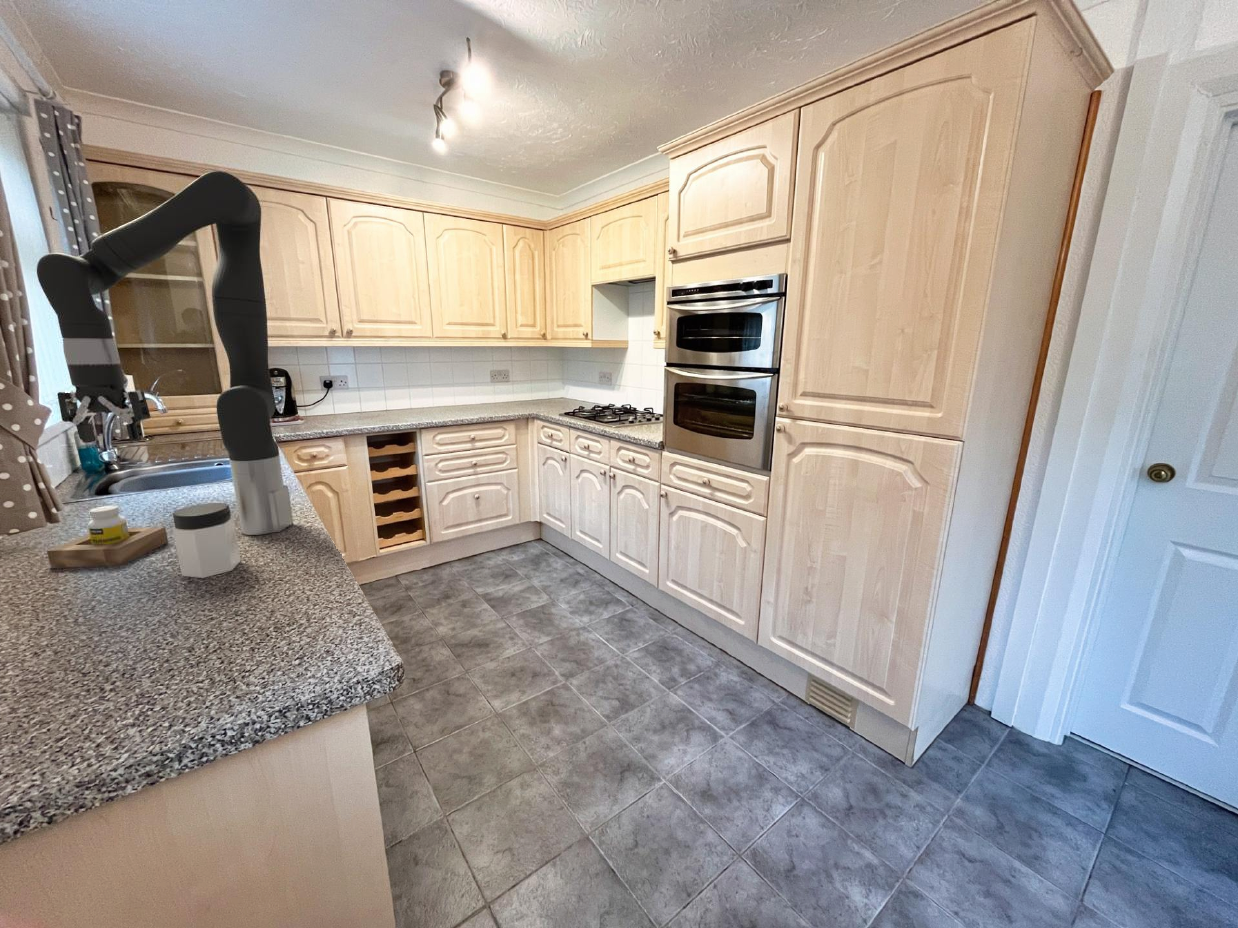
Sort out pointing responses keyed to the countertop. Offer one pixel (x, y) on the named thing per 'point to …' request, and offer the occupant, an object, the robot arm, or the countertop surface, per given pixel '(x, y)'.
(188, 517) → the jar
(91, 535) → the supplement bottle
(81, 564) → the socket block
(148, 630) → the countertop surface
